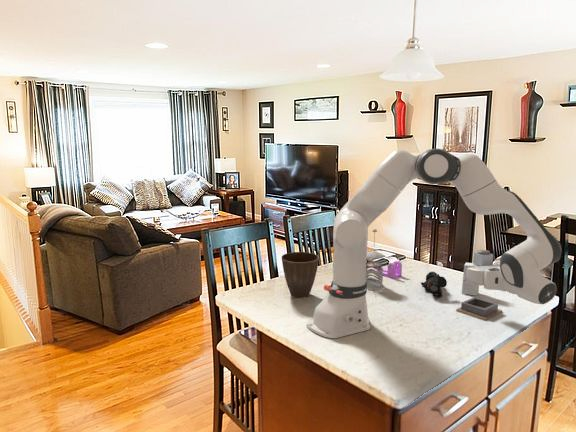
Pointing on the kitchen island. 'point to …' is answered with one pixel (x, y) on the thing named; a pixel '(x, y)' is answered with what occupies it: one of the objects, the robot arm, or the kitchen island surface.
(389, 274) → the bracket
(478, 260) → the cap block
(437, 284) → the night vision scope
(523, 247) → the robot arm
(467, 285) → the skincare box
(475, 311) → the collar
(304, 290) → the plant pot
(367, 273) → the french press
